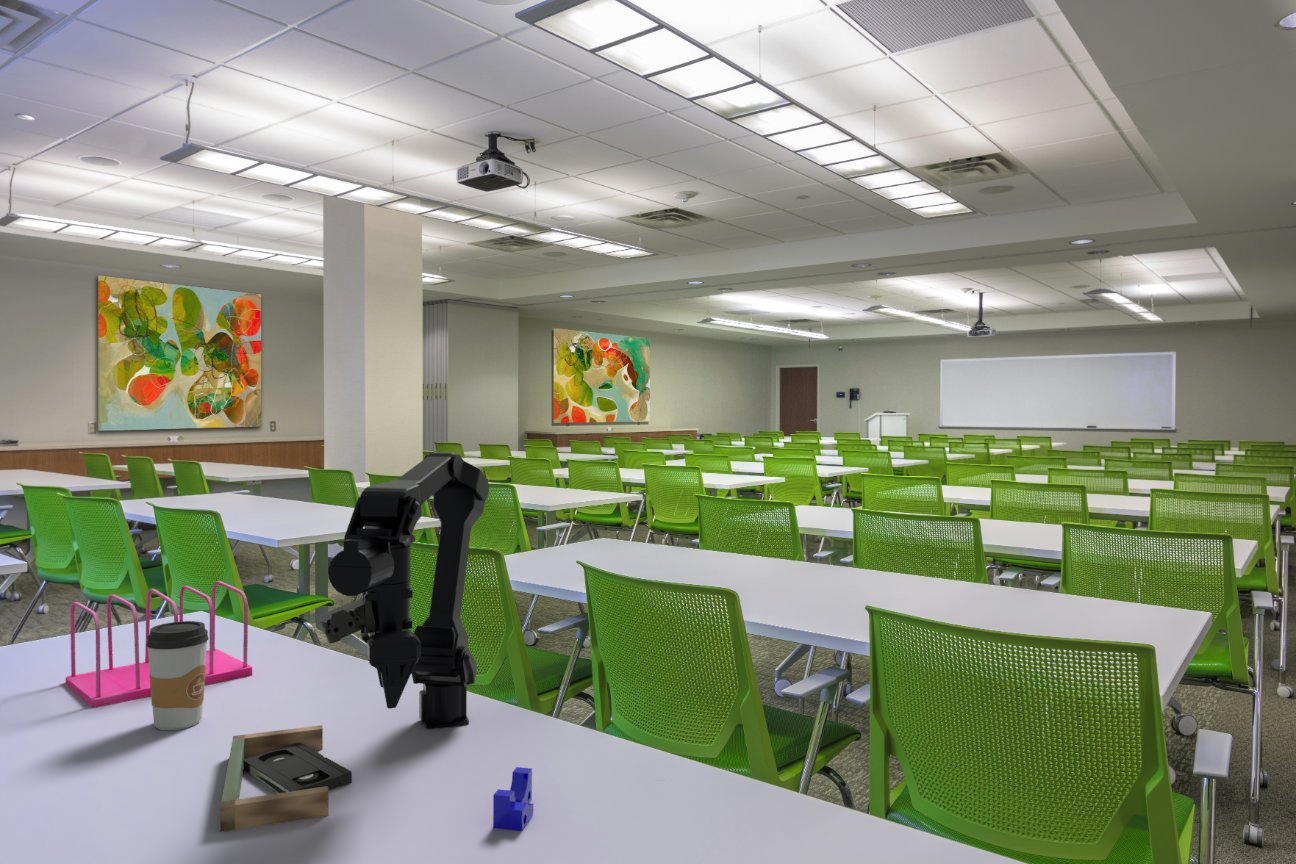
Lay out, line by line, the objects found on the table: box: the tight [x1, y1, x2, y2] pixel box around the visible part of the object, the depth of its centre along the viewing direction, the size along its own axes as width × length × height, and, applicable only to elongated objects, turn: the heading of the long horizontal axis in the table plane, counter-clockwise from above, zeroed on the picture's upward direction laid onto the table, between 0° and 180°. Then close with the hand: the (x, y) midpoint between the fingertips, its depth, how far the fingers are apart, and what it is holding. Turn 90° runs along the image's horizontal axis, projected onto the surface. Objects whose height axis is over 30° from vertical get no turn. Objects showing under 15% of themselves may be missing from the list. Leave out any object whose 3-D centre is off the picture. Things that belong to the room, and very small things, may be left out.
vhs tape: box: [243, 743, 353, 794], centre depth 113 cm, size 14×8×2 cm, turn 48°
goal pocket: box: [219, 724, 329, 833], centre depth 111 cm, size 12×23×3 cm, turn 22°
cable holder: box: [492, 766, 534, 832], centre depth 104 cm, size 8×4×4 cm, turn 169°
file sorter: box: [65, 580, 253, 708], centre depth 152 cm, size 17×25×16 cm
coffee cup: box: [145, 620, 209, 731], centre depth 131 cm, size 8×8×15 cm
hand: (387, 697), depth 116 cm, fingers open, 9 cm apart
